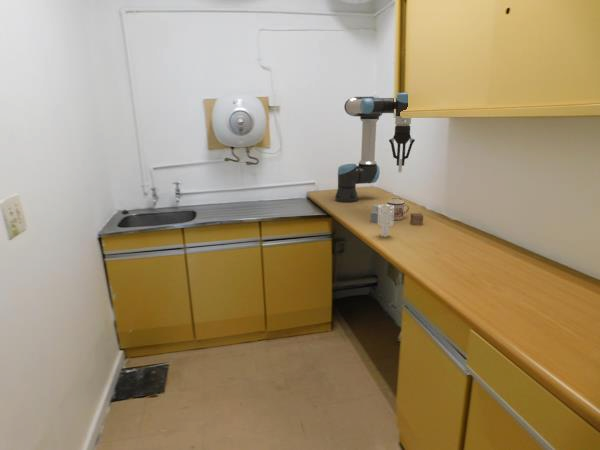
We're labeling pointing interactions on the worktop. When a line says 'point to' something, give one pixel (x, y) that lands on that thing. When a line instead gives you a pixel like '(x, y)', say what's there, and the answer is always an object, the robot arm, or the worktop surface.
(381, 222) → the pale grey tall piece
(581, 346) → the worktop surface
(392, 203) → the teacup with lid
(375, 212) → the slate block
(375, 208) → the sage block
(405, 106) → the robot arm
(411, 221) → the walnut block
